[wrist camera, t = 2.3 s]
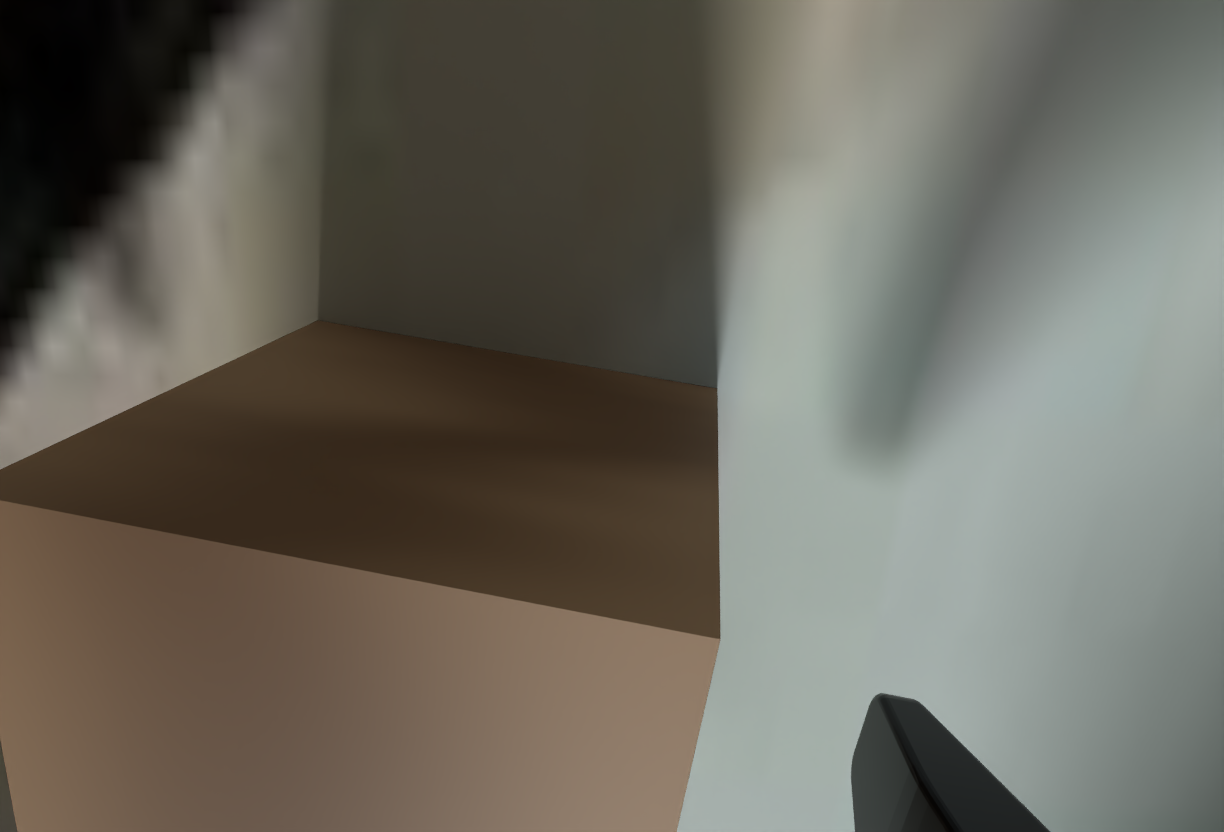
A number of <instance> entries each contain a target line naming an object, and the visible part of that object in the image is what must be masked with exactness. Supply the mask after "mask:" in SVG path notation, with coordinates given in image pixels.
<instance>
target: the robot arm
mask: <svg viewBox="0 0 1224 832" xmlns="http://www.w3.org/2000/svg"><path fill="white" fill-rule="evenodd" d="M851 783H852V797H853V810H854V823H855V832H1050V831H1049V830H1048V829H1047V828H1046V827H1045V826H1044V825H1043V824H1042V823H1041V822H1040V821H1039V820H1038V819H1037V818H1036V817H1035V816H1034V815H1033V814H1032V813H1031V812H1030V811H1029V810H1028V809H1027V808H1026V807H1025V806H1024V805H1023V804H1022V803H1021V802H1020V801H1019V800H1018V799H1017V798H1016V797H1015V796H1014V795H1013V794H1012V793H1011V792H1010V791H1009V790H1008V789H1007V788H1006V787H1005V786H1004V785H1003V784H1002V783H1001V782H1000V781H999V780H998V779H997V778H996V777H995V776H994V775H993V774H992V773H991V772H990V771H989V770H988V769H987V768H986V767H985V766H984V765H983V764H982V763H981V762H980V761H979V760H978V759H977V758H976V757H975V756H974V755H973V754H972V753H971V752H970V751H969V750H968V749H967V748H966V747H965V746H964V745H963V744H961V743H960V742H959V741H958V740H957V739H956V738H955V737H954V736H953V735H952V734H951V733H950V732H949V731H948V730H947V729H946V728H945V727H944V726H943V725H942V724H941V723H940V722H939V721H938V720H937V719H936V718H935V717H934V716H933V715H932V714H931V713H930V712H929V711H928V710H927V709H926V708H925V707H924V706H923V705H922V704H921V703H920V702H918V701H916V700H914V699H910V698H905V697H900V696H894V695H889V694H884V693H880V694H878V695H876V696H875V697H874V698H873V700H872V701H871V703H870V705H869V708H868V711H867V714H866V717H865V721H864V724H863V727H862V730H861V733H860V736H859V739H858V742H857V745H856V748H855V751H854V755H853V760H852V767H851Z"/></svg>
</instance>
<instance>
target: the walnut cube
mask: <svg viewBox="0 0 1224 832" xmlns="http://www.w3.org/2000/svg"><path fill="white" fill-rule="evenodd" d="M719 643H720V570H719V488H718V406H717V388H711V387H705V386H699V385H693V384H687V383H681V382H676V381H670V380H664V379H658V378H652V377H646V376H640V375H635V374H629V373H623V372H617V371H611V370H605V369H599V368H594V367H588V366H582V365H576V364H570V363H564V362H558V361H553V360H547V359H541V358H535V357H529V356H523V355H517V354H512V353H506V352H500V351H494V350H488V349H482V348H476V347H471V346H465V345H459V344H453V343H447V342H441V341H435V340H429V339H424V338H418V337H412V336H406V335H400V334H394V333H388V332H383V331H377V330H371V329H365V328H359V327H353V326H347V325H342V324H336V323H330V322H324V321H315V322H313V323H311V324H309V325H307V326H305V327H303V328H301V329H298V330H296V331H294V332H292V333H290V334H288V335H286V336H284V337H281V338H279V339H277V340H275V341H273V342H271V343H269V344H267V345H264V346H262V347H260V348H258V349H256V350H254V351H252V352H250V353H247V354H245V355H243V356H241V357H239V358H237V359H235V360H232V361H230V362H228V363H226V364H224V365H222V366H220V367H218V368H215V369H213V370H211V371H209V372H207V373H205V374H203V375H201V376H198V377H196V378H194V379H192V380H190V381H188V382H186V383H184V384H181V385H179V386H177V387H175V388H173V389H171V390H169V391H167V392H164V393H162V394H160V395H158V396H156V397H154V398H152V399H150V400H147V401H145V402H143V403H141V404H139V405H137V406H135V407H133V408H130V409H128V410H126V411H124V412H122V413H120V414H118V415H116V416H113V417H111V418H109V419H107V420H105V421H103V422H101V423H99V424H96V425H94V426H92V427H90V428H88V429H86V430H84V431H82V432H79V433H77V434H75V435H73V436H71V437H69V438H67V439H65V440H62V441H60V442H58V443H56V444H54V445H52V446H50V447H48V448H45V449H43V450H41V451H39V452H37V453H35V454H33V455H31V456H28V457H26V458H24V459H22V460H20V461H18V462H16V463H14V464H11V465H9V466H7V467H5V468H3V469H1V470H0V741H1V746H2V752H3V757H4V762H5V768H6V773H7V779H8V784H9V789H10V795H11V800H12V806H13V811H14V816H15V822H16V827H17V832H676V831H677V827H678V823H679V818H680V814H681V810H682V805H683V801H684V796H685V792H686V788H687V783H688V779H689V774H690V770H691V766H692V761H693V757H694V753H695V748H696V744H697V739H698V735H699V731H700V726H701V722H702V718H703V713H704V709H705V704H706V700H707V696H708V691H709V687H710V683H711V678H712V674H713V669H714V665H715V661H716V656H717V652H718V648H719Z"/></svg>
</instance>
